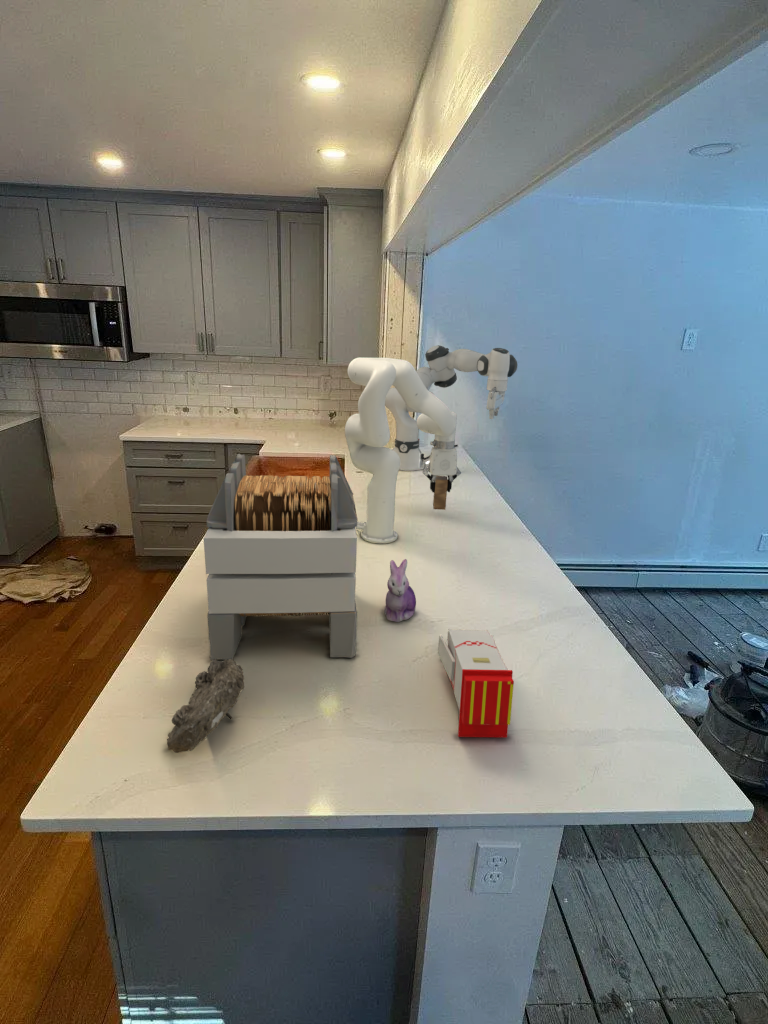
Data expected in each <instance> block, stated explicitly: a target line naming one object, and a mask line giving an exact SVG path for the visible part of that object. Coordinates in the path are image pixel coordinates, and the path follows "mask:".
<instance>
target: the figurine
mask: <svg viewBox="0 0 768 1024" xmlns="http://www.w3.org/2000/svg"><path fill="white" fill-rule="evenodd" d="M407 567H408V559H406V558H404V559H403V560H402V561H401V563H400V565H399V566H398V565H397V563H396V562H395V561H394V560H393V559H391V560H390V561H389V570H390V576H389V578H388V579H387V589H388V591H387V592H386V594H385V595H386V596H385V607H384V615H385V616H386V620H387V621H391V622H395V623H400V622H402V621H406V620H409V619H410V618H411V617H413V616H414V615H415V610H416V606H417V597H416V593H415V591H414V590H413V587H411V586H410V582H409V579H408V577H407V574H406V571H407Z"/></svg>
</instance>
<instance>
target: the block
mask: <svg viewBox="0 0 768 1024" xmlns="http://www.w3.org/2000/svg"><path fill="white" fill-rule="evenodd" d="M447 485H448V476H436V479H435V492H433V498H432V499H433V500H432V505H433V506H432V508H433V510H443V511H446V507H447V496H448V491H447Z"/></svg>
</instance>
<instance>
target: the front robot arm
mask: <svg viewBox="0 0 768 1024" xmlns="http://www.w3.org/2000/svg"><path fill="white" fill-rule="evenodd" d="M416 371H417V370H416V369H415V367H414V366H413V364H412V363H411V362H409V361H408V360H406V359H400V358H392V357H356V358H354V359H352V360H351V361H350V362H349V364H348V366H347V376H348V378H349V380H350V382H352V384H355V385H358V386H363V387H364V389H363V390H362V391H361V394H360V396H359V398H358V401H357V410H358V411H357V412H358V413H353V414H351V415H350V416H349V417H348V419H347V420H346V422H345V425H344V435H345V440H346V445H347V450H348V452H349V457H350V460H351V463H352V464H353V466H354V467H355V468H356V469H357V470H360V471H363V472H365V473H369V474H372V478H371V479H370V480H369V482H368V485H367V489H366V490H367V491H366V519H365V520H366V521H364V522H362V521H357V526H356V527H355V529H356V530H361V534H360V535H361V538H362V539H363V540H364V541H366V542H368V543H373V544H389V543H393V542H395V541H397V540H398V537H399V534H398V532H397V531H396V530H395V528H394V527H395V510H396V509H395V508H396V507H395V506H396V491H397V490H396V489H397V481H398V480H397V479H398V474H399V471H400V470H399V467H400V457H399V455H398V454H397V453H396V452H395V451H394V450H392V449H393V448H392V449H391V448H389V447H386V446H387V445H388V444H389V442H390V440H391V439H390V438H391V431H390V426H389V425H390V424H389V421H388V420H389V419H388V414H387V410H386V406H385V398H386V396H387V393H388V391H389V389H390V388H392V386H393V388H396V389H397V391H398V392H399V394H400V395H401V397H402V398H403V400H404V401H405V403H406V404H407V405H408V406H409V407H411V408H412V409H414V410H416V411H418V412H420V413H419V415H418V416H417V418H416V421H417V427H418V428H419V431H421V432H423V433H426V434H431V435H434V439H433V440H432V441H430V446H433V447H432V448H431V451H430V454H429V456H430V458H428V459H429V460H428V461H429V463H428V465H427V466H426V467H425V468H424V469H423V470H422V474H423V475H424V476H425V477H426V478H428V480H429V482H430V484H429V489H430V491H431V492H432V493H434V492H435V479H436V476H447V479H448V485H447V493H450V492H451V490H452V486H453V482H454V481H455V479H457V478H458V477H459V476H460V475H461V474H462V471H461V470H460V468H459V467H458V452H457V448H456V447H454V445H456V444H455V443H456V441H455V440H456V431H457V420H458V414H457V413H456V412H455V411H452V410H451V409H450V408H449V406H448V405H447V404H446V403H445V402H444V401H442V399H440V398H438V397H437V396H436V395H435V393H433V394H432V393H431V392H432V391H431V390H429V391H428V390H427V389H426V387H425V385H424V384H423V382H422V380H421V379H420V377H419V375H418V374H417V372H416ZM430 391H431V392H430ZM429 473H430V474H429Z"/></svg>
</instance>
